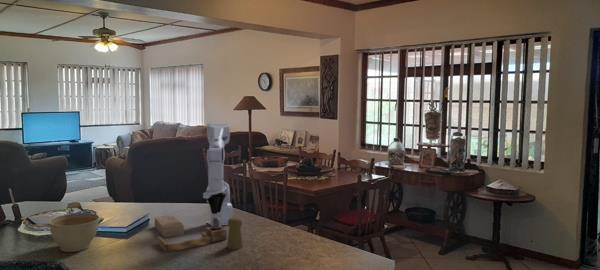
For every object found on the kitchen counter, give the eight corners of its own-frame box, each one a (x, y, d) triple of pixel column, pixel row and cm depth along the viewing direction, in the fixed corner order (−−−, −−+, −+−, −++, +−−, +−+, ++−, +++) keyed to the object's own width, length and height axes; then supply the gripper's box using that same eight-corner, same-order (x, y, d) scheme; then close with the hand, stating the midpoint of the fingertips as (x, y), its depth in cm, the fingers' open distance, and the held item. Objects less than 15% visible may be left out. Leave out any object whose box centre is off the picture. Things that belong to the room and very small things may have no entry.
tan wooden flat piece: (200, 235, 173) (200, 229, 172) (210, 243, 164) (210, 237, 163) (157, 243, 163) (157, 236, 163) (166, 252, 154) (166, 245, 154)
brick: (185, 235, 174) (184, 223, 174) (163, 238, 170) (163, 226, 169) (173, 224, 188) (173, 214, 188) (153, 227, 184) (153, 216, 183)
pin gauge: (216, 237, 171) (216, 217, 170) (220, 238, 170) (220, 218, 169) (211, 238, 169) (211, 218, 169) (215, 240, 168) (215, 220, 167)
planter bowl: (49, 259, 147) (47, 227, 146) (51, 244, 161) (50, 215, 160) (101, 251, 154) (100, 222, 153) (98, 238, 168) (98, 210, 167)
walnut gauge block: (220, 235, 174) (220, 225, 173) (226, 239, 169) (226, 229, 168) (206, 237, 170) (206, 227, 170) (211, 242, 165) (211, 232, 165)
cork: (246, 245, 163) (246, 216, 162) (238, 250, 157) (238, 220, 156) (231, 243, 165) (231, 214, 164) (223, 248, 159) (223, 219, 158)
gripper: (217, 174, 175) (217, 207, 177) (196, 180, 162) (196, 216, 163) (232, 175, 173) (232, 209, 174) (212, 182, 159) (212, 218, 161)
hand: (216, 212), depth 169 cm, fingers closed
